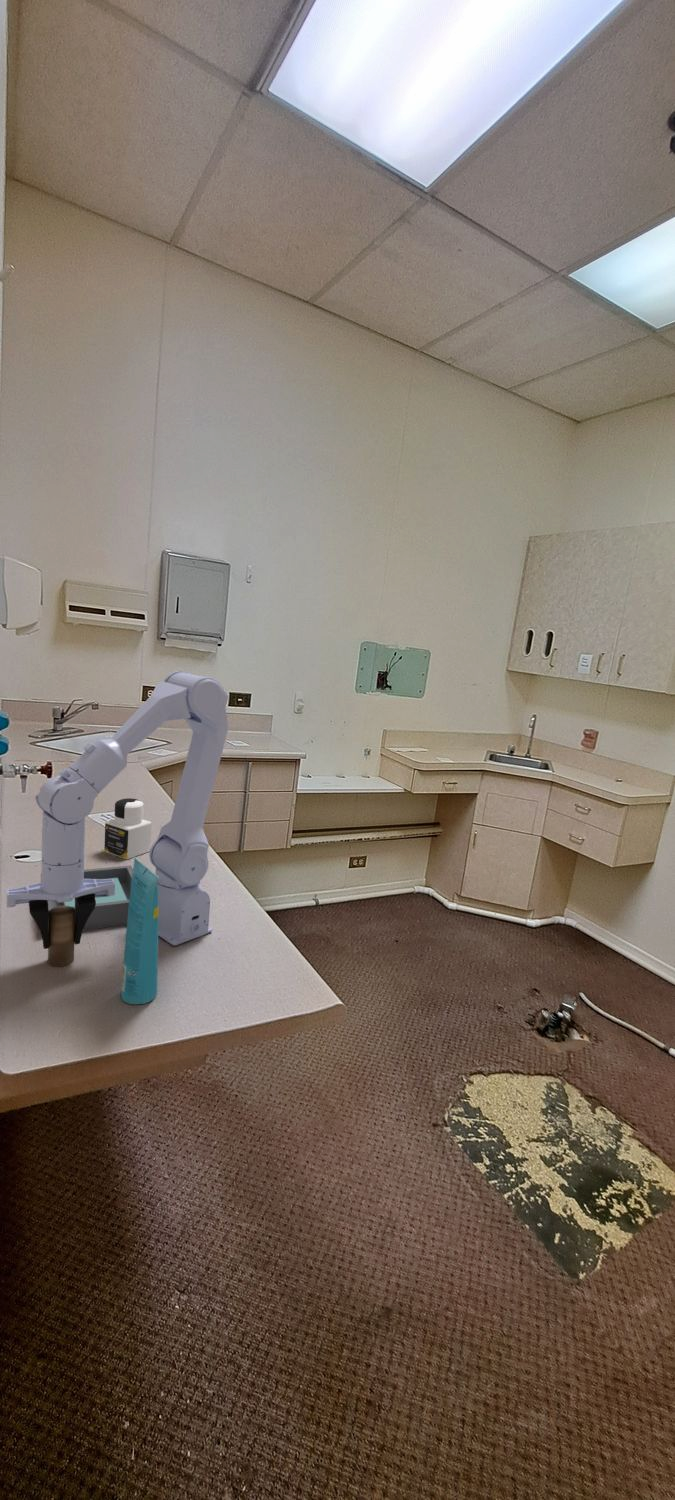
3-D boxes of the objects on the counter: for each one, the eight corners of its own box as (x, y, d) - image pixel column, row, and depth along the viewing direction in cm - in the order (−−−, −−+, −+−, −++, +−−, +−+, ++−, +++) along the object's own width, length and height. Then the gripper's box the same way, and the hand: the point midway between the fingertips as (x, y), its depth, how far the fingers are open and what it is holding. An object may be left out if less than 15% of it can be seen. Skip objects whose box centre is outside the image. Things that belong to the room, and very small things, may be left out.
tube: (167, 1001, 84) (175, 872, 81) (136, 1014, 81) (142, 881, 77) (141, 977, 89) (147, 855, 86) (109, 988, 86) (114, 862, 82)
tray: (147, 921, 106) (148, 900, 105) (46, 935, 98) (46, 912, 97) (130, 884, 119) (131, 865, 118) (40, 893, 111) (40, 873, 110)
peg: (78, 960, 91) (79, 912, 90) (54, 969, 89) (55, 919, 87) (66, 951, 94) (68, 903, 92) (43, 959, 91) (44, 910, 89)
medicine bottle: (103, 851, 134) (105, 800, 131) (128, 843, 140) (130, 794, 138) (126, 860, 131) (128, 807, 128) (150, 851, 137) (153, 801, 135)
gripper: (7, 874, 81) (7, 965, 84) (119, 864, 88) (116, 948, 91) (6, 855, 87) (6, 940, 90) (111, 847, 94) (108, 926, 97)
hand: (61, 943), depth 91 cm, fingers closed on peg, 4 cm apart
